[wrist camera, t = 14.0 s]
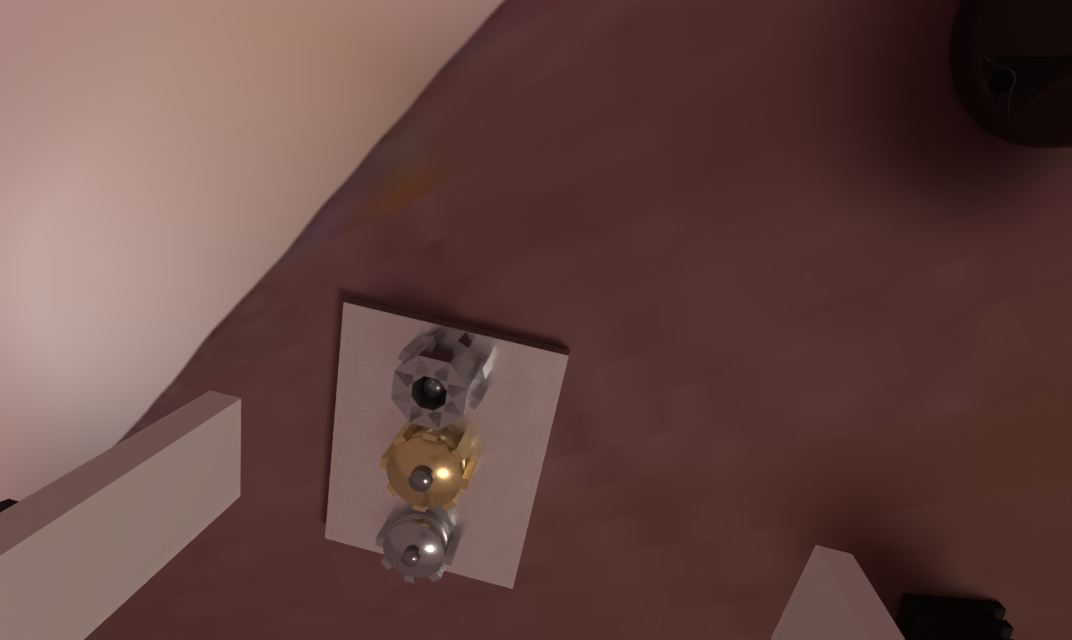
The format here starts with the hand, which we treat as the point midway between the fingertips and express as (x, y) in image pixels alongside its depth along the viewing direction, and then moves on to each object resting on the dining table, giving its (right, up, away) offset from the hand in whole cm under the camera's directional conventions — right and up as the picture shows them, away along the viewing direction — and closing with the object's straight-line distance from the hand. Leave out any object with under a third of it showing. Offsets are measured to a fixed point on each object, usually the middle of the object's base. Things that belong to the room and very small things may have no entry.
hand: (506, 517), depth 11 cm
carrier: (-9, -8, +37) cm, 39 cm away
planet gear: (-7, 0, +33) cm, 34 cm away
